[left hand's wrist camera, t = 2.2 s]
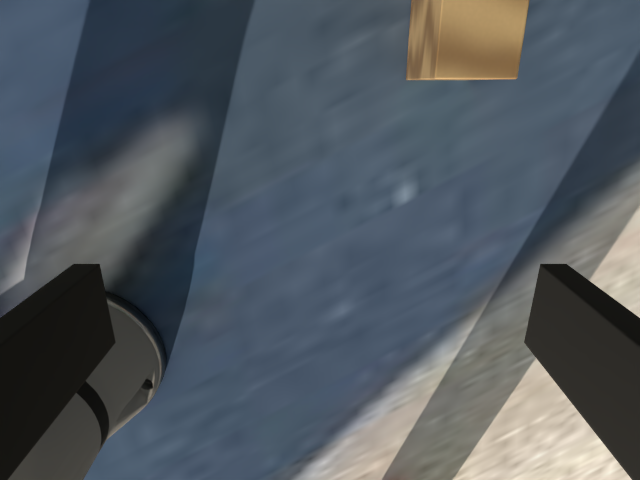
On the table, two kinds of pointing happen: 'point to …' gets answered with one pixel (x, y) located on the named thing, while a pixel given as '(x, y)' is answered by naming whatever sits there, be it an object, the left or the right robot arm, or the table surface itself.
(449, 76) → the ash beam
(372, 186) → the table surface
